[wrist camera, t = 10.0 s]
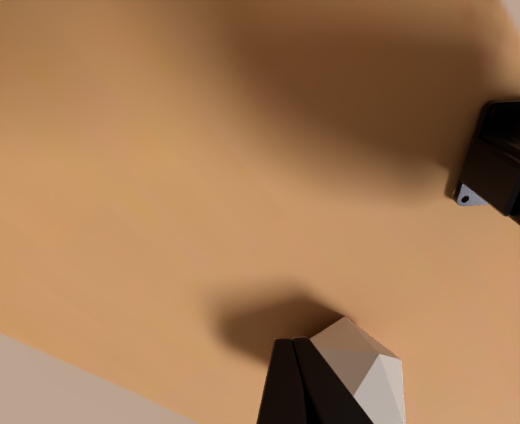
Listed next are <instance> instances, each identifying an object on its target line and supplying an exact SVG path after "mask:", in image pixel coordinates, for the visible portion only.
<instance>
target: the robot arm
mask: <svg viewBox="0 0 520 424" xmlns="http://www.w3.org/2000/svg"><path fill="white" fill-rule="evenodd" d="M494 107H495V109H494V111H493V112H492V113H491V114H490V112H491V110H492V109H493V108H494ZM464 196H465V197H464ZM463 197H464V198H463ZM462 198H463V199H462ZM454 201H455V202H456V203H457V204H458V205H460V206H472V205H487V204H489V205H491V206H492V207H493V208H494V209H496V210H497V211H498V212H499V213H501V214H502V215H503V216H508V217H510V218H511V219H512V220H513V221H515V222H516V223H517V224H518V225H520V99H513V100H492V101H489V102H488V103H486V104H485V105H484V106H483V108H482V110H481V113H480V117H479V120H478V123H477V126H476V129H475V132H474V135H473V139H472V142H471V144H470V147H469V150H468V154H467V157H466V160H465V163H464V166H463V169H462V173H461V176H460V179H459V183H458V186H457V189H456V192H455V195H454ZM256 424H374V423H373V422H372V420H371V419H370V418H369V416H368V415H367V414H366V412H365V411H364V410H363V408H362V407H361V406H360V405H359V403H358V402H357V401H356V399H355V398H354V397H353V395H352V394H351V393H350V391H349V390H348V389H347V387H346V386H345V385H344V383H343V382H342V381H341V380H340V378H339V377H338V376H337V374H336V373H335V372H334V370H333V369H332V368H331V366H330V365H329V364H328V362H327V361H326V360H325V358H324V357H323V356H322V355H321V353H320V352H319V351H318V349H317V348H316V347H315V345H314V344H313V343H312V341H311V340H310V339H309V338H308V337H306V336H302V337H292V338H289V337H281V338H275V339H274V343H273V348H272V352H271V357H270V362H269V366H268V371H267V376H266V381H265V385H264V390H263V395H262V400H261V404H260V409H259V414H258V419H257V423H256Z"/></svg>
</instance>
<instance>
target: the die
mask: <svg viewBox="0 0 520 424" xmlns="http://www.w3.org/2000/svg"><path fill="white" fill-rule="evenodd" d="M309 339H310V340H311V341H312V343H313V344H314V345H315V347H316V348H317V349H318V351H319V352H320V353H321V355H322V356H323V357H324V358H325V360H326V361H327V362H328V364H329V365H330V366H331V368H332V369H333V370H334V372H335V373H336V374H337V376H338V377H339V378H340V380H341V381H342V382H343V383H344V385H345V386H346V387H347V389H348V390H349V391H350V393H351V394H352V395H353V397H354V398H355V399H356V401H357V402H358V403H359V405H360V406H361V407H362V408H363V410H364V411H365V412H366V414H367V415H368V416H369V418H370V419H371V420H372V422H373V423H374V424H406V423H405V407H404V391H403V374H402V360H401V359H400V358H399V357H397V356H396V355H395V354H393V353H392V352H391V351H389V350H388V349H387V348H386V347H384V346H383V345H382V344H380V343H379V342H378V341H377V340H375V339H374V338H373V337H371V336H370V335H369V334H367V333H366V332H365V331H364V330H362V329H361V328H360V327H358V326H357V325H356V324H354V323H353V322H352V321H351V320H349V319H348V318H347V317H343V318H342V319H340V320H338V321H337V322H335V323H334V324H332V325H330V326H329V327H327V328H326V329H324V330H322V331H321V332H319V333H318V334H316V335H314V336H313V337H311V338H309Z"/></svg>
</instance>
